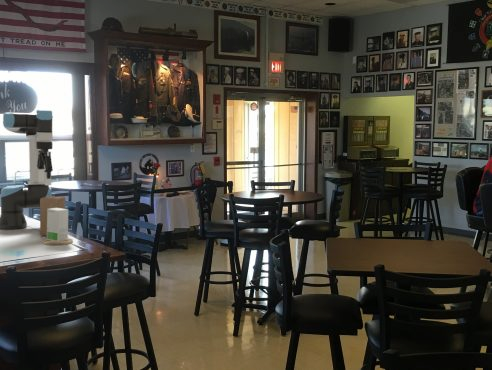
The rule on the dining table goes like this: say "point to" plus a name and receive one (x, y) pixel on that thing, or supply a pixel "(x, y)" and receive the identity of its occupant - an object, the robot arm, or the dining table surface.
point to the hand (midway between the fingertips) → (44, 183)
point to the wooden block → (48, 204)
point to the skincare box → (57, 224)
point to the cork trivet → (57, 242)
